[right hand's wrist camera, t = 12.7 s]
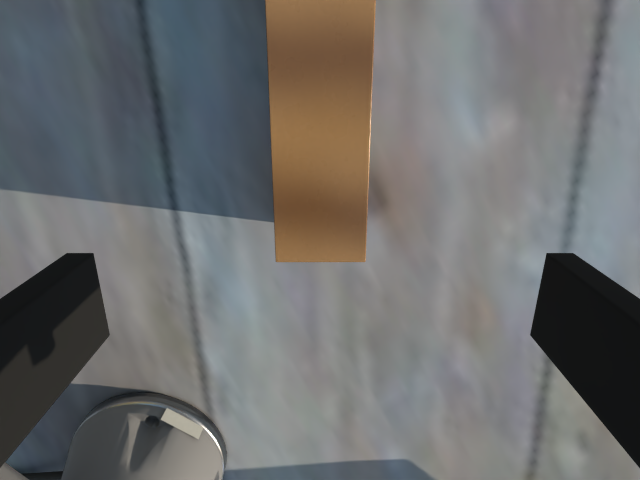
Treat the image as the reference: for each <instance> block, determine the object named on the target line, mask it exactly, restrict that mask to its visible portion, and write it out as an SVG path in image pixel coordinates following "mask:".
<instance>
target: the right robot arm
mask: <svg viewBox="0 0 640 480" xmlns="http://www.w3.org/2000/svg"><path fill="white" fill-rule="evenodd" d="M109 335H110V334H109V329H108V324H107V319H106V314H105V309H104V304H103V299H102V294H101V289H100V284H99V279H98V274H97V269H96V264H95V259H94V254H93V253H66V254H65V255H64V256H62V257H61V258H59V259H58V260H56V261H55V262H53V263H52V264H50V265H49V266H48V267H46V268H45V269H43V270H42V271H40V272H39V273H37V274H36V275H34V276H33V277H32V278H30V279H29V280H27V281H26V282H24V283H23V284H21V285H20V286H18V287H17V288H15V289H14V290H13V291H11V292H10V293H8V294H7V295H5V296H4V297H2V298H1V299H0V480H222V479H223V475H224V471H225V467H226V461H227V453H226V446H225V443H224V440H223V438H222V436H221V434H220V432H219V430H218V429H217V427H216V426H215V425H214V423H213V422H212V421H211V420H210V419H209V418H208V417H207V416H206V415H204V414H203V413H202V412H201V411H199V410H198V409H196V408H195V407H193V406H192V405H190V404H188V403H186V402H184V401H181V400H179V399H176V398H173V397H170V396H166V395H161V394H156V393H130V394H124V395H120V396H116V397H113V398H111V399H108V400H106V401H104V402H102V403H101V404H99V405H98V406H96V407H95V408H94V409H93V410H92V411H91V412H90V413H89V414H88V415H87V416H86V418H85V419H84V420H83V422H82V423H81V425H80V426H79V428H78V429H77V431H76V432H75V434H74V436H73V439H72V442H71V444H70V447H69V451H68V457H67V460H66V464H65V467H64V471H59V472H44V473H25V474H20V473H19V472H18V471H16V470H15V469H13V468H12V467H11V466H9V465H8V464H7V463H5V462H6V460H7V459H8V458H9V457H10V456H11V454H12V453H13V452H14V451H15V449H16V448H17V447H18V446H19V445H20V443H21V442H22V441H23V440H24V439H25V437H26V436H27V435H28V434H29V432H30V431H31V430H32V429H33V428H34V426H35V425H36V424H37V423H38V422H39V420H40V419H41V418H42V417H43V415H44V414H45V413H46V412H47V411H48V409H49V408H50V407H51V406H52V405H53V403H54V402H55V401H56V400H57V398H58V397H59V396H60V395H61V394H62V392H63V391H64V390H65V389H66V388H67V386H68V385H69V384H70V383H71V381H72V380H73V379H74V378H75V377H76V375H77V374H78V373H79V372H80V371H81V369H82V368H83V367H84V366H85V364H86V363H87V362H88V361H89V360H90V358H91V357H92V356H93V355H94V354H95V352H96V351H97V350H98V349H99V347H100V346H101V345H102V344H103V343H104V341H105V340H106V339H107V338H108V337H109ZM530 335H531V337H532V338H533V339H534V340H535V341H536V343H537V344H538V345H539V346H540V347H541V349H542V350H543V351H544V352H545V354H546V355H547V356H548V357H549V358H550V360H551V361H552V362H553V363H554V364H555V366H556V367H557V368H558V369H559V371H560V372H561V373H562V374H563V375H564V377H565V378H566V379H567V380H568V381H569V383H570V384H571V385H572V386H573V388H574V389H575V390H576V391H577V392H578V394H579V395H580V396H581V397H582V398H583V400H584V401H585V402H586V403H587V405H588V406H589V407H590V408H591V409H592V411H593V412H594V413H595V414H596V415H597V417H598V418H599V419H600V420H601V422H602V423H603V424H604V425H605V426H606V428H607V429H608V430H609V431H610V432H611V434H612V435H613V436H614V437H615V439H616V440H617V441H618V442H619V443H620V445H621V446H622V447H623V448H624V449H625V451H626V452H627V453H628V454H629V456H630V457H631V458H632V459H633V460H634V462H635V463H636V464H637V465H638V466H639V468H640V299H639V298H638V297H636V296H635V295H633V294H632V293H630V292H629V291H627V290H626V289H625V288H623V287H622V286H620V285H619V284H617V283H616V282H614V281H613V280H611V279H610V278H608V277H607V276H606V275H604V274H603V273H601V272H600V271H598V270H597V269H595V268H594V267H592V266H591V265H590V264H588V263H587V262H585V261H584V260H582V259H581V258H579V257H578V256H576V255H575V254H573V253H547V254H546V259H545V264H544V269H543V274H542V279H541V284H540V289H539V294H538V299H537V304H536V309H535V314H534V319H533V324H532V329H531V334H530Z"/></svg>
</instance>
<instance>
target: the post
mask: <svg viewBox="0 0 640 480" xmlns="http://www.w3.org/2000/svg"><path fill="white" fill-rule="evenodd" d="M375 1H376V0H265V10H266V34H267V58H268V83H269V107H270V132H271V156H272V180H273V205H274V229H275V254H276V262H365V259H366V233H367V208H368V182H369V156H370V130H371V105H372V79H373V53H374V27H375Z"/></svg>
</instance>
